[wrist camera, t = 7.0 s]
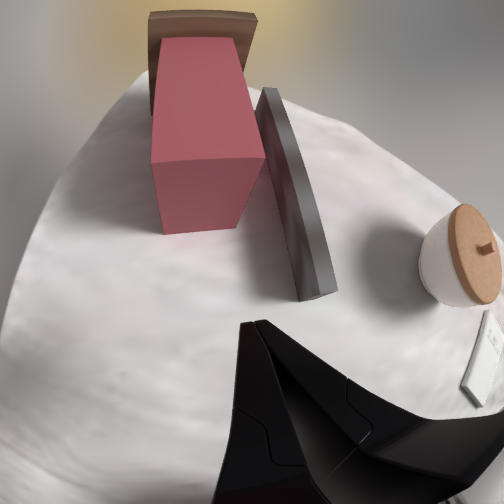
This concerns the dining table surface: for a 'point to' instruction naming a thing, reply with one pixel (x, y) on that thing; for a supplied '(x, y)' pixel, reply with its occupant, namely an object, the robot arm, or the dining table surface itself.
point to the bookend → (274, 141)
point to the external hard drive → (484, 360)
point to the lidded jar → (461, 260)
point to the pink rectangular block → (203, 136)
